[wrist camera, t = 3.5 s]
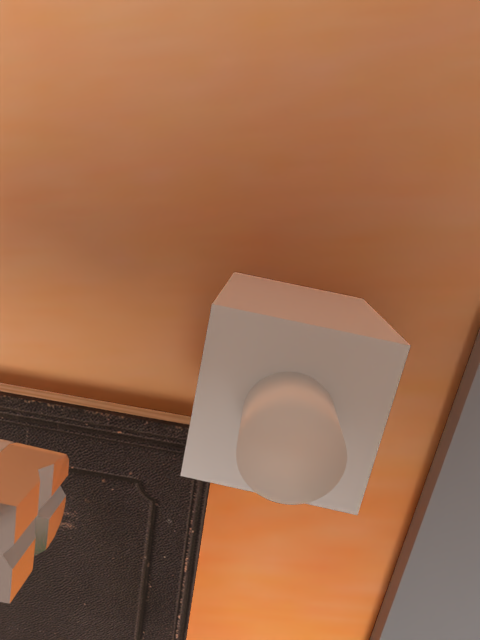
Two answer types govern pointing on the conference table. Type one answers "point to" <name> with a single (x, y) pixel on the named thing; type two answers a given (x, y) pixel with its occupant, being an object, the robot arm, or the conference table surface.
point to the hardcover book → (108, 522)
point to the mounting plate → (443, 535)
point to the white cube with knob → (292, 393)
